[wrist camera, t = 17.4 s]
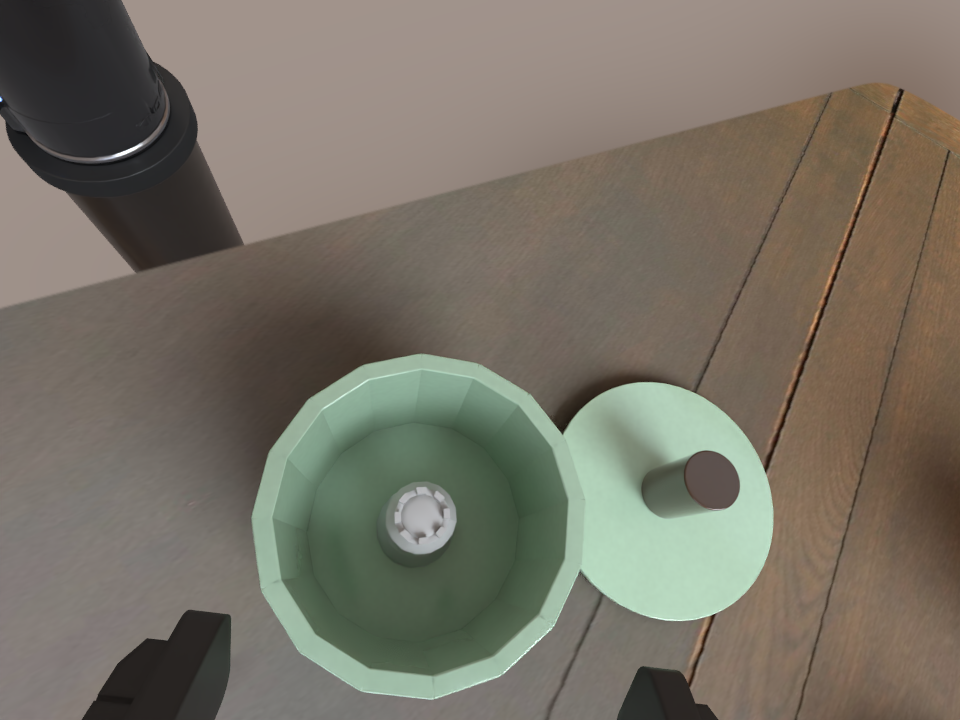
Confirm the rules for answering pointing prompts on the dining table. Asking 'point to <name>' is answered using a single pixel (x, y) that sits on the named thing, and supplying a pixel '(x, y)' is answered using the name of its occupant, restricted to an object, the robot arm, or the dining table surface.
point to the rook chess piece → (416, 524)
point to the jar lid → (669, 501)
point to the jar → (475, 542)
